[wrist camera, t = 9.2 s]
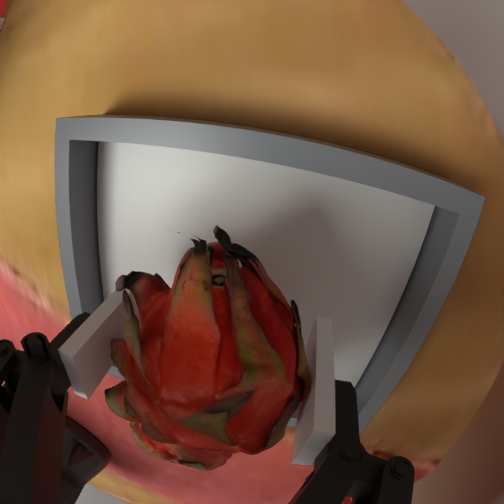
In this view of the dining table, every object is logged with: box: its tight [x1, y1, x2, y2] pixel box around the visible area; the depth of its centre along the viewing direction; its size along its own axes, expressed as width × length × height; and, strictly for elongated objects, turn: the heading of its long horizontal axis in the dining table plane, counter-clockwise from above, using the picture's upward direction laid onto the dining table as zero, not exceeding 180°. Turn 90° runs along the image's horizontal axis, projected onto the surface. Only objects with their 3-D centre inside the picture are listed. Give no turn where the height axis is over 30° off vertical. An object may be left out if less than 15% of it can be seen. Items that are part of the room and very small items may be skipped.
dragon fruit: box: [104, 225, 310, 471], centre depth 12 cm, size 8×8×12 cm
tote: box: [55, 115, 486, 435], centre depth 18 cm, size 22×18×4 cm
